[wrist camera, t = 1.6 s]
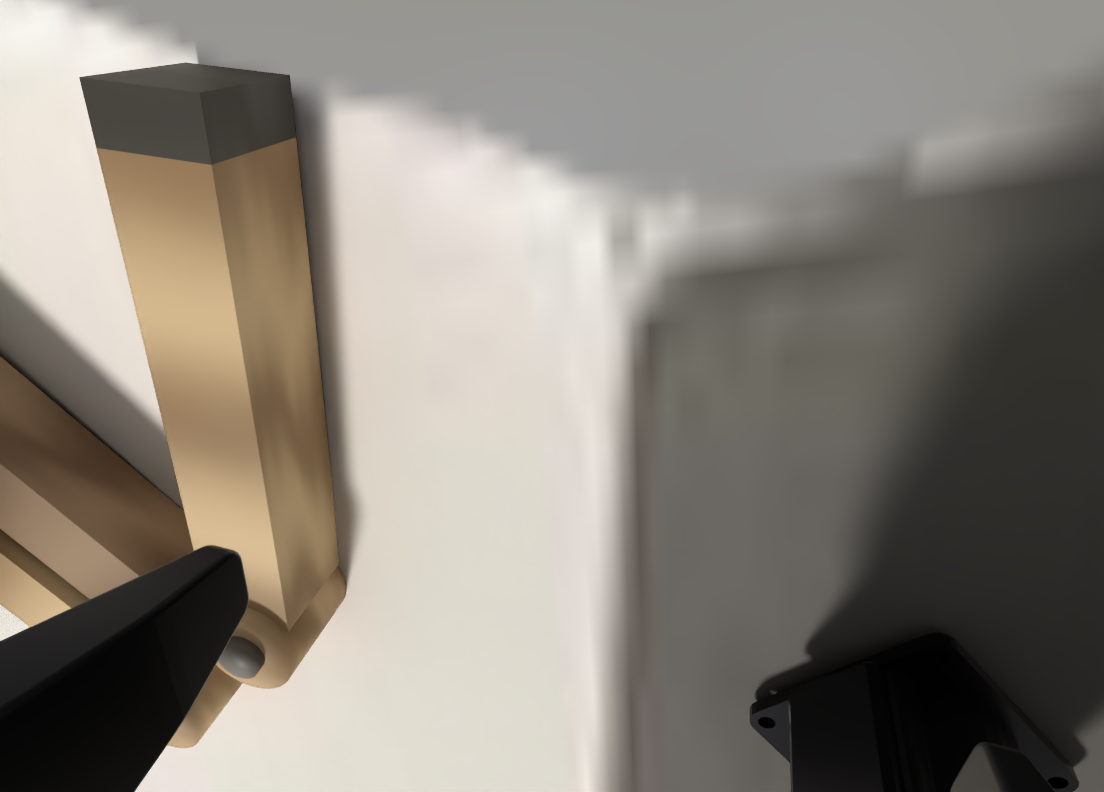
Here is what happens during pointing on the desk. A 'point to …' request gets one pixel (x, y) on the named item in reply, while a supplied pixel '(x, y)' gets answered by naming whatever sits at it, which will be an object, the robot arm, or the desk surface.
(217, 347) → the hinged leg
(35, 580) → the tan rectangular beam
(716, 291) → the desk surface
